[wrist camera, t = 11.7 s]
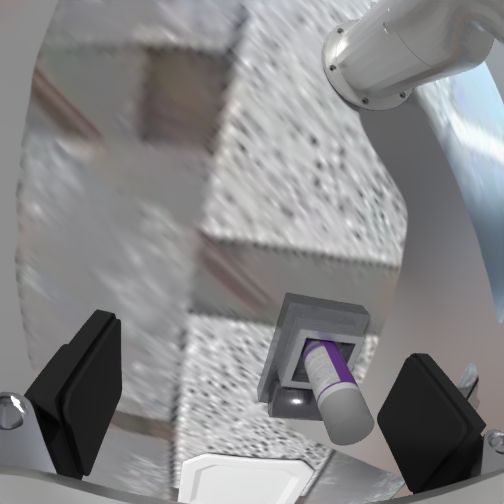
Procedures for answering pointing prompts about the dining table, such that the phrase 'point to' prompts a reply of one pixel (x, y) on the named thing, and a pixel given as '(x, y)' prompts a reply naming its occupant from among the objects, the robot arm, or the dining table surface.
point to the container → (336, 393)
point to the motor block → (290, 346)
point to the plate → (242, 480)
